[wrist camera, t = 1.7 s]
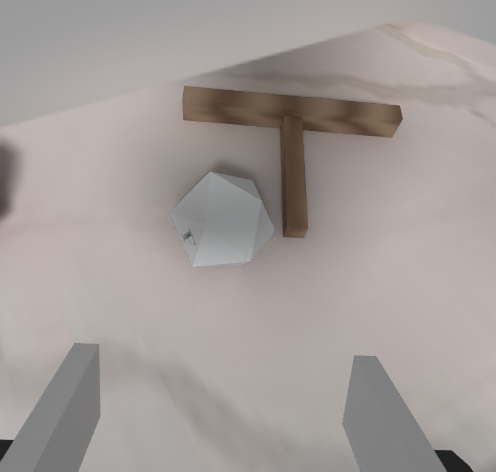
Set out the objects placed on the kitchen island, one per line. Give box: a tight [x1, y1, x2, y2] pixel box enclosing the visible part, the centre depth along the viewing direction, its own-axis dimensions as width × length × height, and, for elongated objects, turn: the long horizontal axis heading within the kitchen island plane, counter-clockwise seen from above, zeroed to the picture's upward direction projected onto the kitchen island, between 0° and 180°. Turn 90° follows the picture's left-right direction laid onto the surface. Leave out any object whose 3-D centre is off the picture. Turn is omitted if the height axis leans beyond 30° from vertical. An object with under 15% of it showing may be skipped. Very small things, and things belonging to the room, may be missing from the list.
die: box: [169, 171, 275, 267], centre depth 38 cm, size 8×9×10 cm
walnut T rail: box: [183, 86, 403, 238], centre depth 45 cm, size 24×16×3 cm, turn 89°
